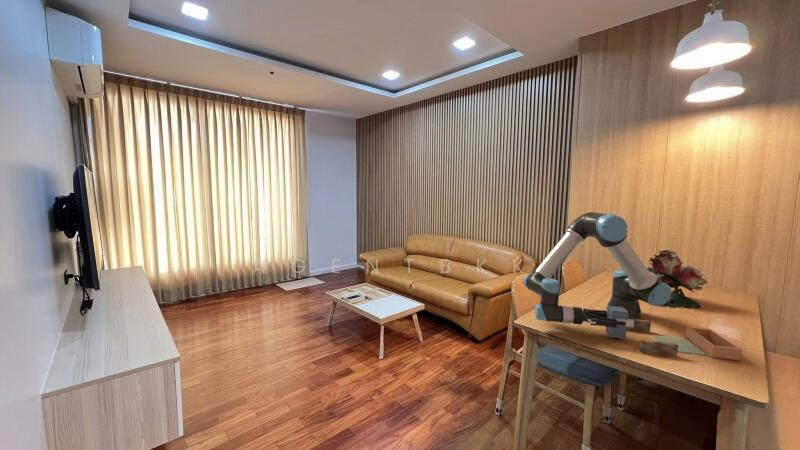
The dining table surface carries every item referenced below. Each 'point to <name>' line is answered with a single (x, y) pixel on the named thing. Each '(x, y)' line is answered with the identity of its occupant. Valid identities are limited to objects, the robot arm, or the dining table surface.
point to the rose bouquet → (676, 278)
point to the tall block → (615, 313)
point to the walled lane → (653, 346)
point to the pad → (681, 344)
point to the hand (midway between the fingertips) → (630, 320)
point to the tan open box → (713, 344)
